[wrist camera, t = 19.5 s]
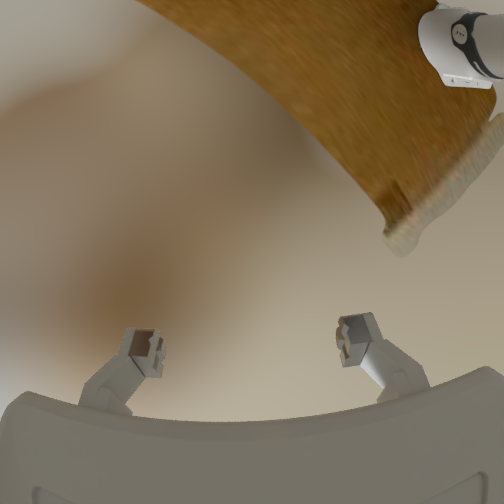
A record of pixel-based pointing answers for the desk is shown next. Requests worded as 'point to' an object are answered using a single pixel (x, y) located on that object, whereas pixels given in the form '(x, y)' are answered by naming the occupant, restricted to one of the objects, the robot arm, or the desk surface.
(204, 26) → the desk surface
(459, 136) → the desk surface
